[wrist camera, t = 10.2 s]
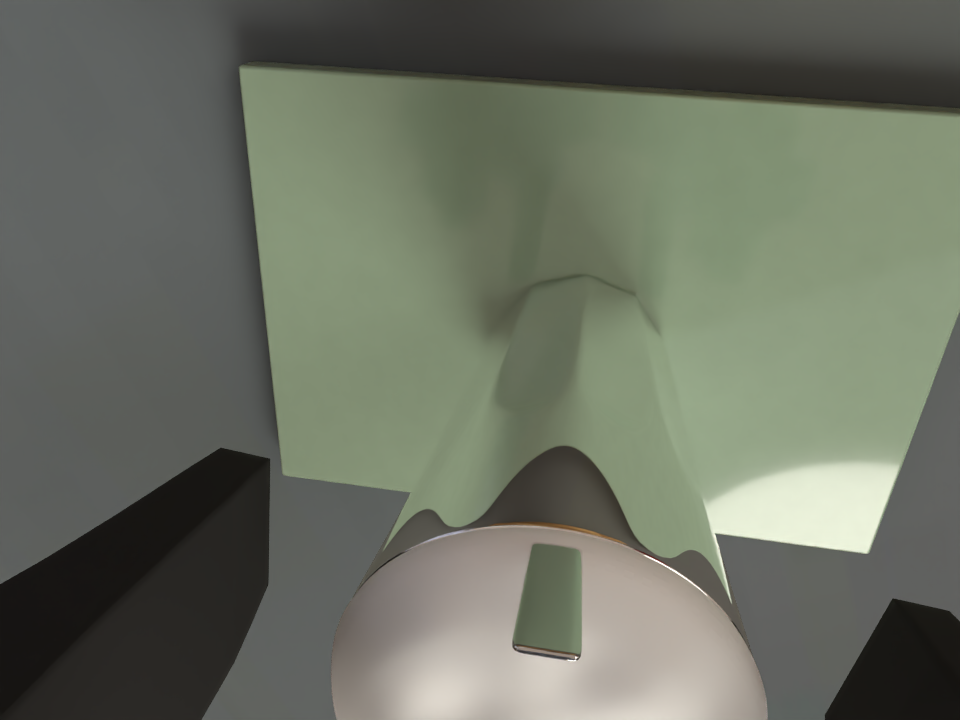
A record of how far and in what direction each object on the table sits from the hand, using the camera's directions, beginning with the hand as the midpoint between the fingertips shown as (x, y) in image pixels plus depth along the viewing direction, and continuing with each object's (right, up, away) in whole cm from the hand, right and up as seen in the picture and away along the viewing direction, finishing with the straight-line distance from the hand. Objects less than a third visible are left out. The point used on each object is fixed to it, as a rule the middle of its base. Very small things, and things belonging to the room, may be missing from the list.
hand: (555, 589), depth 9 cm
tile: (+1, +4, +6) cm, 7 cm away
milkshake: (+1, +3, +6) cm, 7 cm away
